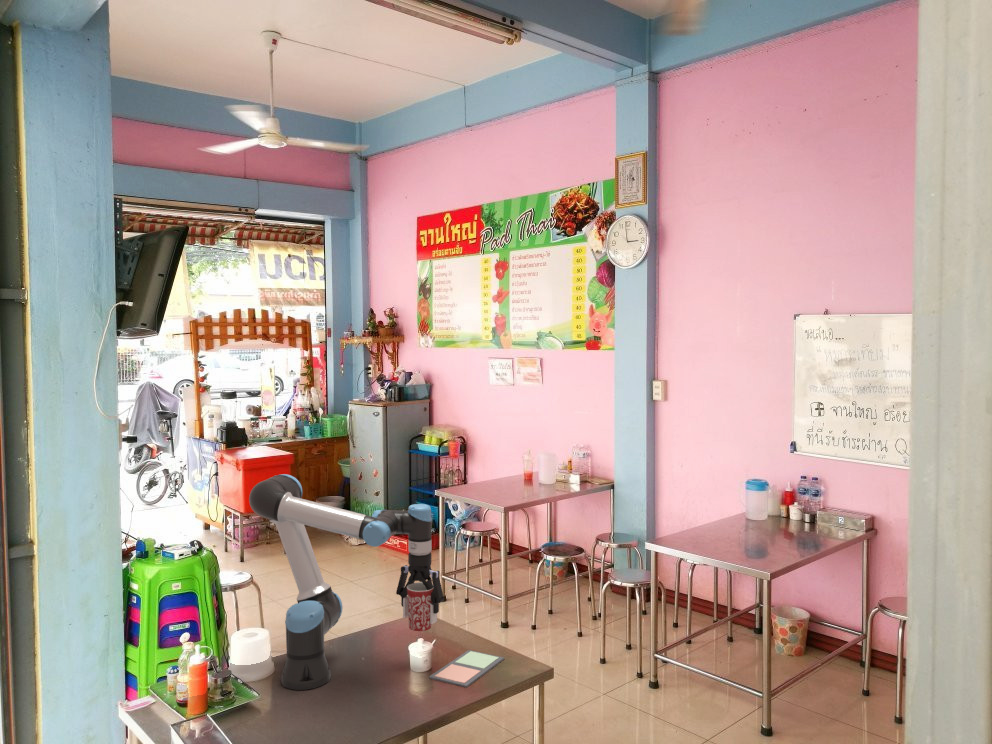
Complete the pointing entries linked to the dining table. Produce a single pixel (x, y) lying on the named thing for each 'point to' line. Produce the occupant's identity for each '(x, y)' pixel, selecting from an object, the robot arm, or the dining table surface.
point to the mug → (419, 606)
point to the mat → (466, 668)
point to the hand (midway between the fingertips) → (419, 619)
